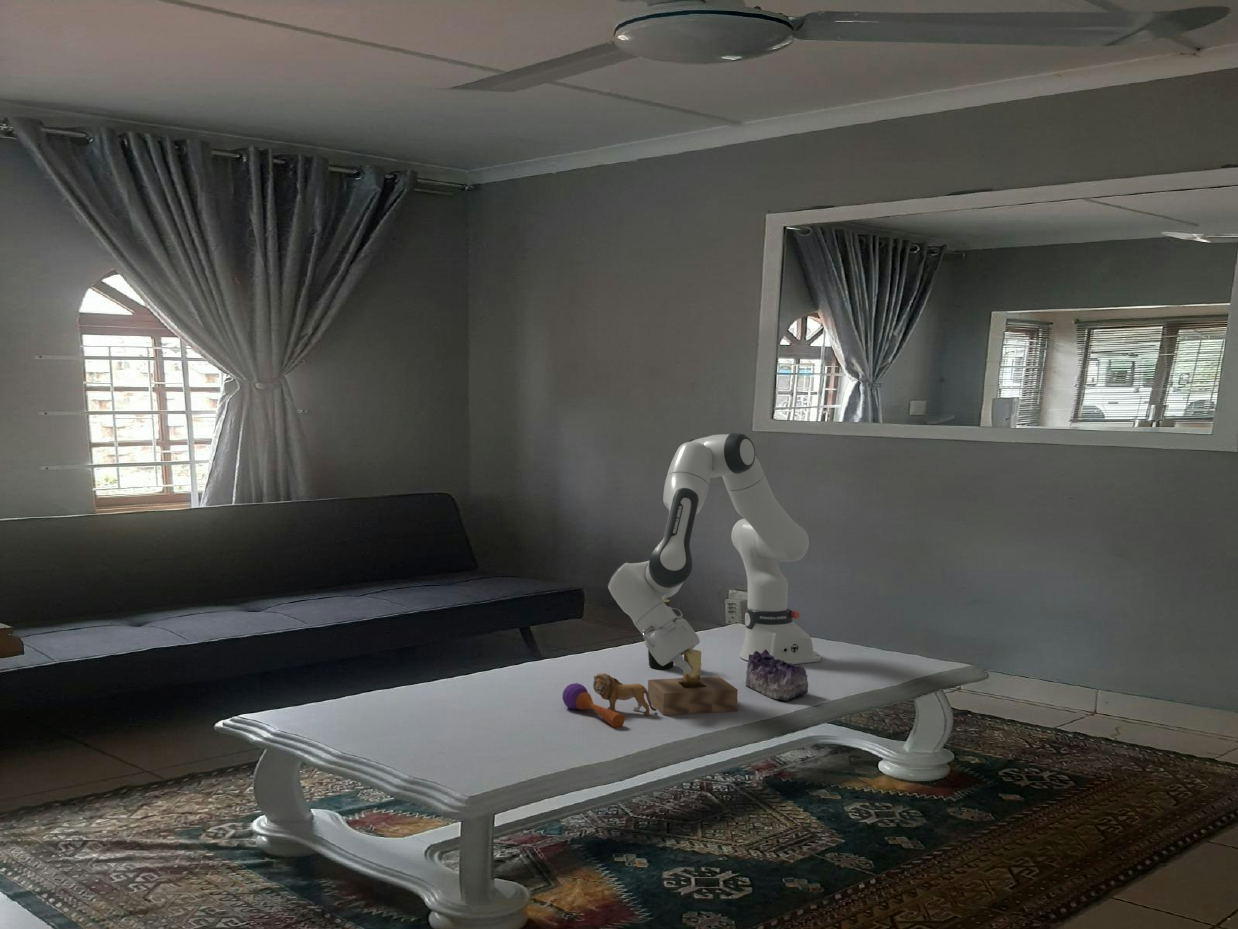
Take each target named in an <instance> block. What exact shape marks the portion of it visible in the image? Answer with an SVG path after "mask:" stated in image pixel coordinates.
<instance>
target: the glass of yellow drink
mask: <svg viewBox="0 0 1238 929" xmlns="http://www.w3.org/2000/svg"><path fill="white" fill-rule="evenodd" d="M683 659H684V660H685V661H686V662H687V663H688V664H689V663H690V664H691V666H692V667H693V671H691V672H690V673H689V674H686V673H685V672H684V671H683V673H682V674H683V675H682V676H683V677H682V678H683V687H684V688H700V677H701V672H702V671H701V670H702V668H701V666H702V651H701V650H698V649H694V650H686V651H684V654H683Z"/></svg>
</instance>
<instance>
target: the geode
mask: <svg viewBox="0 0 1238 929" xmlns="http://www.w3.org/2000/svg"><path fill="white" fill-rule="evenodd" d="M747 661H748V660H747ZM745 672H746V678H745V686H746V687H748V688H750V689H751V690H752V689H753V690H754V691H756V692H758V693H760V694H762V695H763V696H766V697H769V698H771V699H775V700H782V702H787V701H789V700H791V699H794V698H796V697H799V696H802V695H806V694H808V692H809V681H808V674H807V670H806V668H804V667H803V666H801V665H795V664H792V663H786V662H784V661H781V660H780V659H778V660H775V659H774V656H772V655H770V654H769V652H768V651H767V650H766V649H765V650H764V651H763V652H762V654H761V653H759V652H758V651H755V652H754V654H753V655H751V654H749V661H748V662H747V667H746V671H745Z"/></svg>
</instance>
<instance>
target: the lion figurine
mask: <svg viewBox="0 0 1238 929" xmlns="http://www.w3.org/2000/svg"><path fill="white" fill-rule="evenodd" d="M592 688H593V690H594V692H595V693H596V694H597V695H599V696H601V698H602V699H603V700H606V701H608V703H609V706H608V707H607V708H606V709H609V710H611V711H614V712H616V702H617V700H620V701H628V700H631V699H633V698H634V699H635V700H636V702H637V706H636V707H634V708H633V711H635V712H638V711H640V709H641V707H643V708H644V709H645V711H643V715H644V716H648V715H650V710H651V711H653V712H654V711H655V712H656V711H657V709H656V708H655V707H654V706H653V705H652V704H651V701H650V697H649V694H648V688H646V687H645V686H644V685H643V684H640V683H632V684H623V683H622V682H620V681H619V680H618V679H617V678H614V677H612V676H611V675H610V674H607V673H604V672H600V673H598V674H596V675H595V676H593V683H592ZM645 696H646V699H645ZM646 700H647V702H648V703H647V702H646Z"/></svg>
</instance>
